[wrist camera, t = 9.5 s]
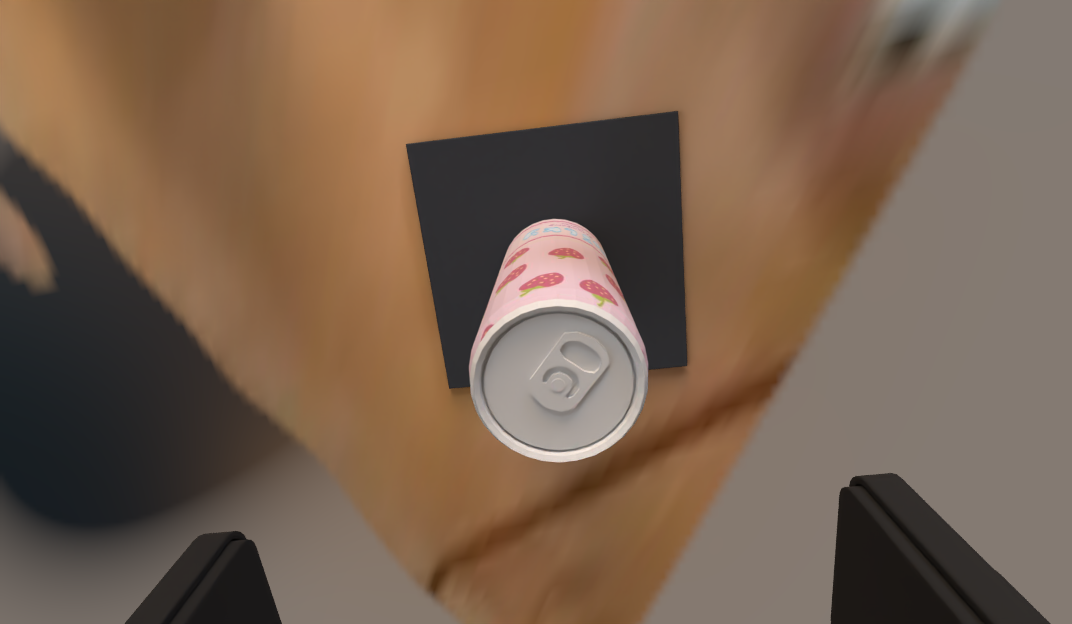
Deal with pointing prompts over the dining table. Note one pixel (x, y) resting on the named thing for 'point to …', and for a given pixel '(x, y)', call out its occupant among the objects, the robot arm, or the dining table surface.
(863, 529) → the robot arm
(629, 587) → the dining table surface
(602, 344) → the beverage can
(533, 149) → the mat
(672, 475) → the dining table surface
